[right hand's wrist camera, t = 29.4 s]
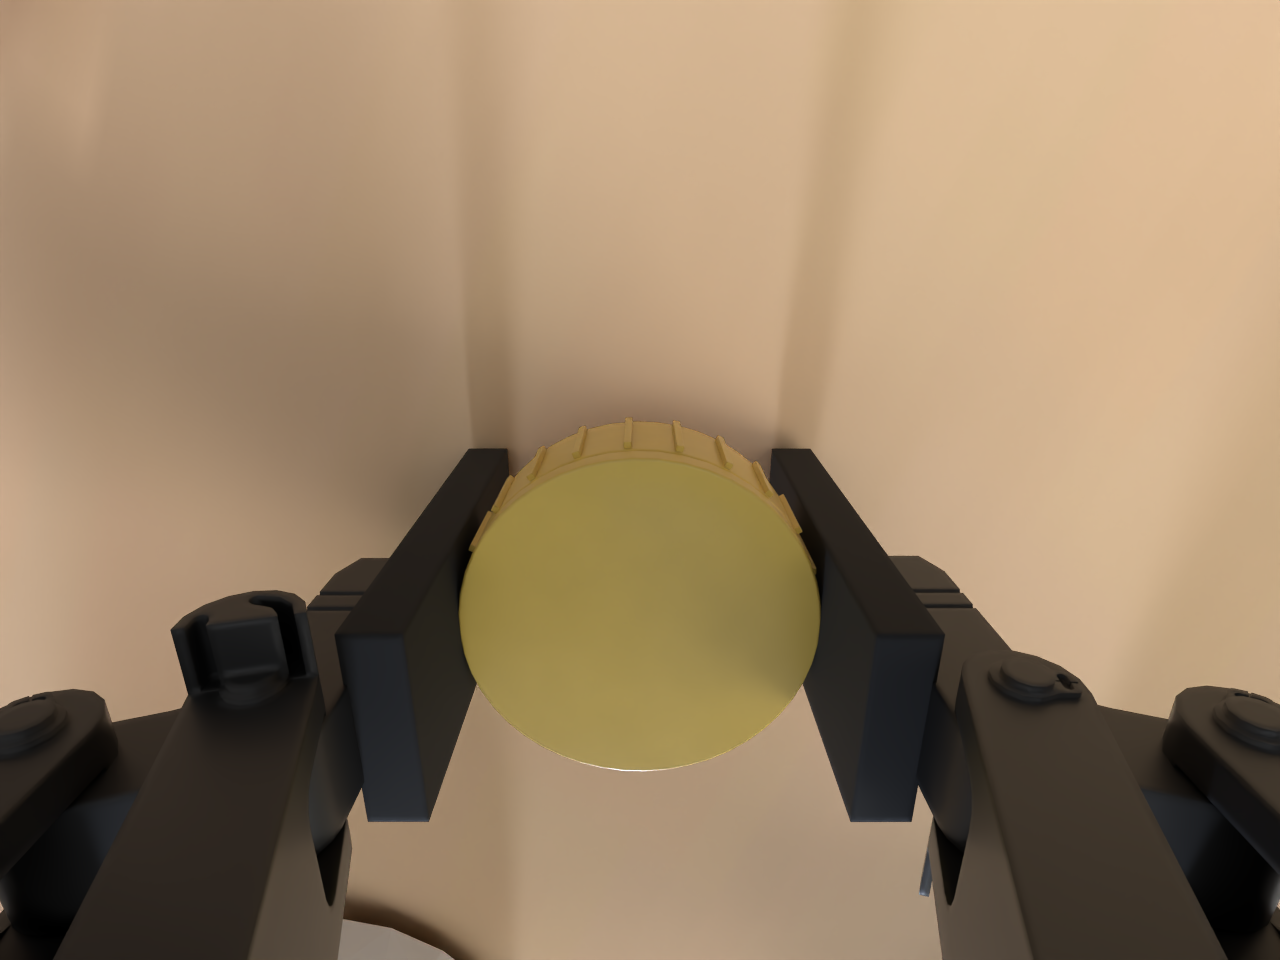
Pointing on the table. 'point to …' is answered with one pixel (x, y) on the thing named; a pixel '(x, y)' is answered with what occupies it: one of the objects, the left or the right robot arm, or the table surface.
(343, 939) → the mechanical component
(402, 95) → the table surface
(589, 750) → the lid
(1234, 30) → the table surface
